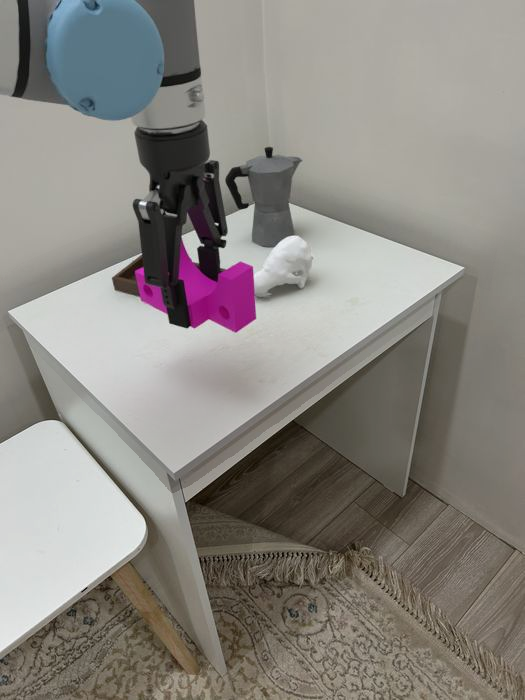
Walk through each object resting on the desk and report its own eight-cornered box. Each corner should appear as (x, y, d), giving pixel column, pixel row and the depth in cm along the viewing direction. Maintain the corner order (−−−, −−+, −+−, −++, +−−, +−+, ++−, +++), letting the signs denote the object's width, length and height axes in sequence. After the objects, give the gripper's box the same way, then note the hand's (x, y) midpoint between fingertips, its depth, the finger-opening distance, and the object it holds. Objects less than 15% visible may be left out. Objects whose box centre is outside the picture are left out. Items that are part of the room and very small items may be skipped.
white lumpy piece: (315, 239, 90) (257, 269, 86) (318, 281, 96) (264, 311, 92) (291, 226, 94) (235, 254, 90) (296, 267, 100) (243, 296, 96)
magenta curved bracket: (141, 300, 73) (130, 250, 68) (176, 280, 76) (167, 231, 72) (221, 343, 65) (215, 289, 60) (256, 318, 68) (252, 266, 64)
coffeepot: (292, 220, 116) (290, 133, 104) (312, 238, 109) (312, 148, 97) (224, 237, 111) (214, 148, 100) (241, 257, 105) (232, 165, 93)
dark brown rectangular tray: (114, 290, 98) (111, 277, 96) (147, 263, 105) (145, 251, 103) (202, 312, 91) (200, 299, 89) (231, 282, 98) (230, 269, 96)
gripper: (140, 161, 48) (177, 361, 62) (248, 100, 61) (258, 275, 76) (75, 151, 50) (125, 344, 65) (192, 95, 64) (212, 265, 79)
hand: (197, 307), depth 70 cm, fingers closed on magenta curved bracket, 7 cm apart
